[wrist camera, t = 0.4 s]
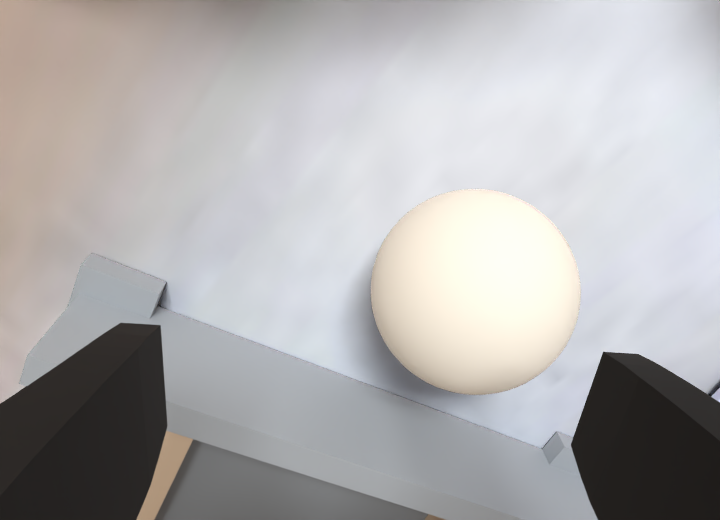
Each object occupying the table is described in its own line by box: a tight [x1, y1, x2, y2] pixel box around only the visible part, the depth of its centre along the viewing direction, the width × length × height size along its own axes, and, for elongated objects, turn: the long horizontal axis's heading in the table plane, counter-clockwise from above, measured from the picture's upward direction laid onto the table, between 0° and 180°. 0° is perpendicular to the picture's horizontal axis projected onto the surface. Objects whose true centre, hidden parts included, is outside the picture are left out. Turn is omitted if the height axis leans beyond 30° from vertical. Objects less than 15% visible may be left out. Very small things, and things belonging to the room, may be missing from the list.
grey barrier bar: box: [19, 253, 598, 520], centre depth 18 cm, size 20×3×4 cm, turn 63°
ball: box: [371, 189, 581, 395], centre depth 15 cm, size 6×6×6 cm
